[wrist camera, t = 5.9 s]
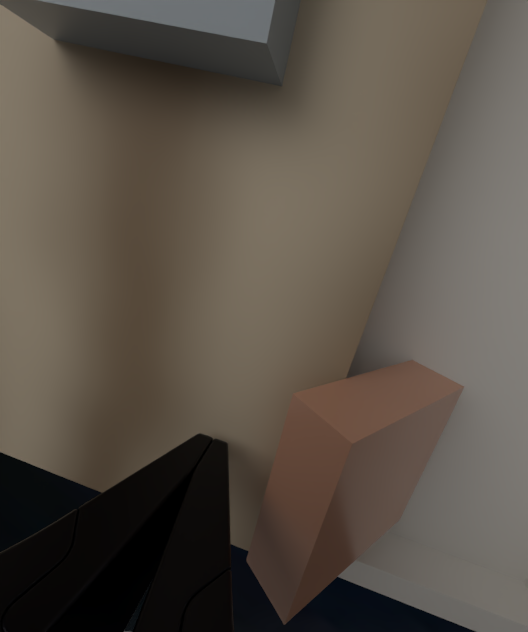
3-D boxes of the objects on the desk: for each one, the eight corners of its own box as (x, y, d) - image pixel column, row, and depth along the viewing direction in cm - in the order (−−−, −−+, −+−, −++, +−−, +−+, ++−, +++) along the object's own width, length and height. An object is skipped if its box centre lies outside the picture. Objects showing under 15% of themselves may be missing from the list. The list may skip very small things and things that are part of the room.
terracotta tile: (246, 560, 8) (284, 625, 7) (292, 393, 6) (352, 444, 5) (361, 483, 11) (399, 519, 10) (412, 359, 9) (464, 386, 8)
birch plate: (28, 388, 14) (-51, 431, 11) (19, -208, 8) (-154, -447, 5) (289, 484, 12) (276, 562, 9) (516, -161, 6) (660, -463, 4)
